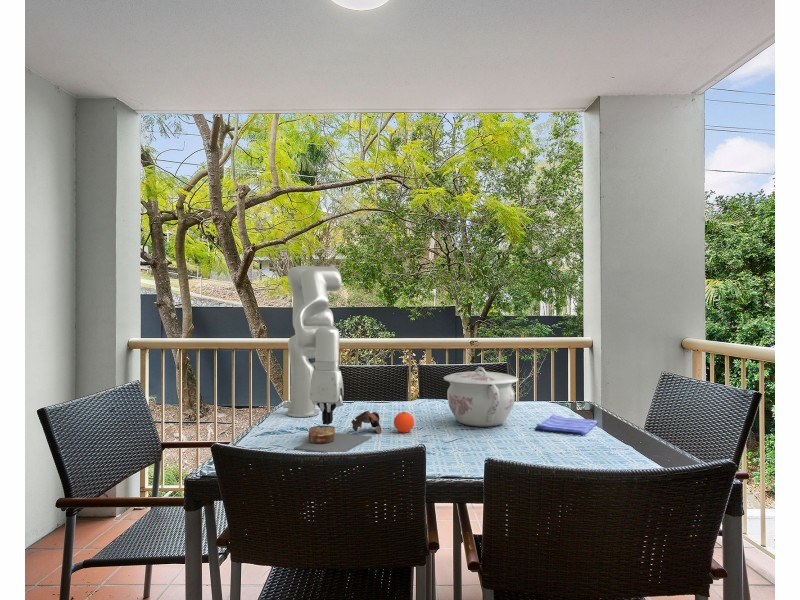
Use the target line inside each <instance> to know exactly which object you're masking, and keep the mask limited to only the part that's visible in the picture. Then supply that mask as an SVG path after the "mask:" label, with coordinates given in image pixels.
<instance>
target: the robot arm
mask: <svg viewBox="0 0 800 600" xmlns="http://www.w3.org/2000/svg"><path fill="white" fill-rule="evenodd" d="M287 280H288V281H287V282H288V285H289V287H290V290H291V293H292V326H293V329H294V333H295V334H294V335H292V336H291V337H289V339H288V342H287V346H288V347H287V349H288V353H289V362H290V366H289V367H290V402H284V403H283V405H282V407H283V409H288V410H287V411H286V415H287V416H288V417H291V416H292V418H309V416H310V417H315V416H317V415H319V414H320V412H321V420H322V425H323V426H329V425H330V424H332V423H333V422H334V420H333V418H334V415H333V414H334V411H335V409H336V408H338V407H342V406H344V402H343V400H344V393H345V392H344V382H343V381H344V380H343V375H342V371H341V370H340V338H341V336H340V332H339V330H338V328H337V327H336V326H334V322H335V321H334V314H333V311H332V309H330V307H329V305H330V299H329V295H328V292H338V291H340V289H341V287H342V284H343V283H342V281H343V280H342V276H341V273H340V270H338V269H337V268H336V267H334V266H318V265H317V266H315V265H298V266H293V267H291V268H289V270H288V273H287ZM309 359H315V361H313V362H312V363H311V362H310V360H309ZM316 406H317V407H318V409H320V410H318V409H317V408H316Z"/></svg>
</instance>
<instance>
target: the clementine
mask: <svg viewBox="0 0 800 600" xmlns="http://www.w3.org/2000/svg"><path fill="white" fill-rule="evenodd" d="M414 424H415V420H414V418H413V415H412V414H410V413H409V412H407V411H401V412H399V413H397V414H396V416H394V419H393V425H394V428H395V429H396V430H397V431H398V432H399V433H408V432H410V431H411V430H412V429H413V427H414Z"/></svg>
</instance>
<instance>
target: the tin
mask: <svg viewBox="0 0 800 600" xmlns="http://www.w3.org/2000/svg"><path fill="white" fill-rule="evenodd" d="M335 431H336V427H334V426H332V425H316V426H311V427H309V429H308V434H307V435H308V441H309V442H311V443H330V442H332V441H334V433H336V432H335Z"/></svg>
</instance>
